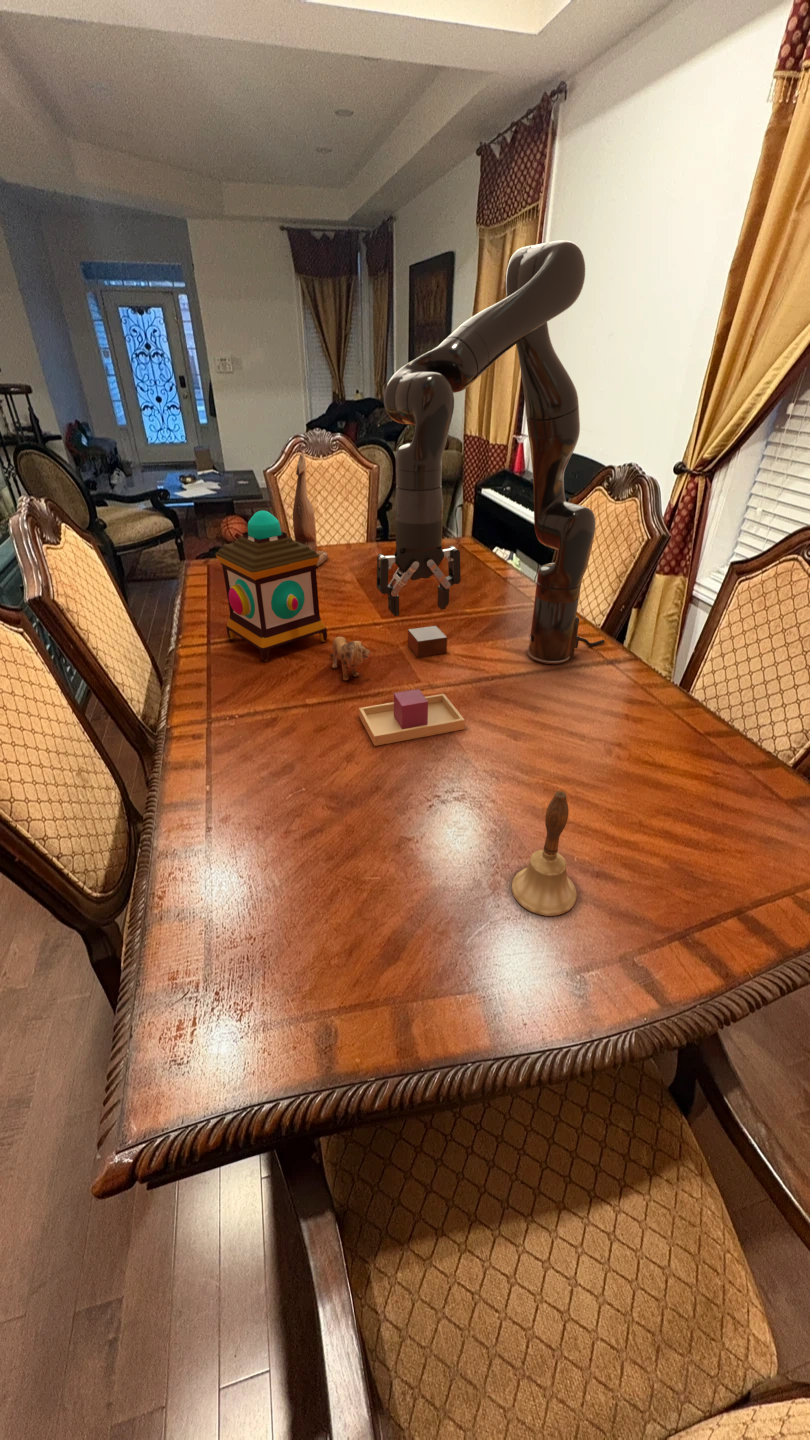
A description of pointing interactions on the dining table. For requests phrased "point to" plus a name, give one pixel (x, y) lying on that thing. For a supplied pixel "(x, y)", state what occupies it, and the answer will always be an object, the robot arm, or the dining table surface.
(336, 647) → the lion figurine
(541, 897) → the hand bell
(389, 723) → the tray
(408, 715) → the mulberry block
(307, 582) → the decorative lantern
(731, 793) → the dining table surface
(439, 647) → the walnut block
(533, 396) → the robot arm
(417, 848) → the dining table surface
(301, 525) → the bird sculpture
